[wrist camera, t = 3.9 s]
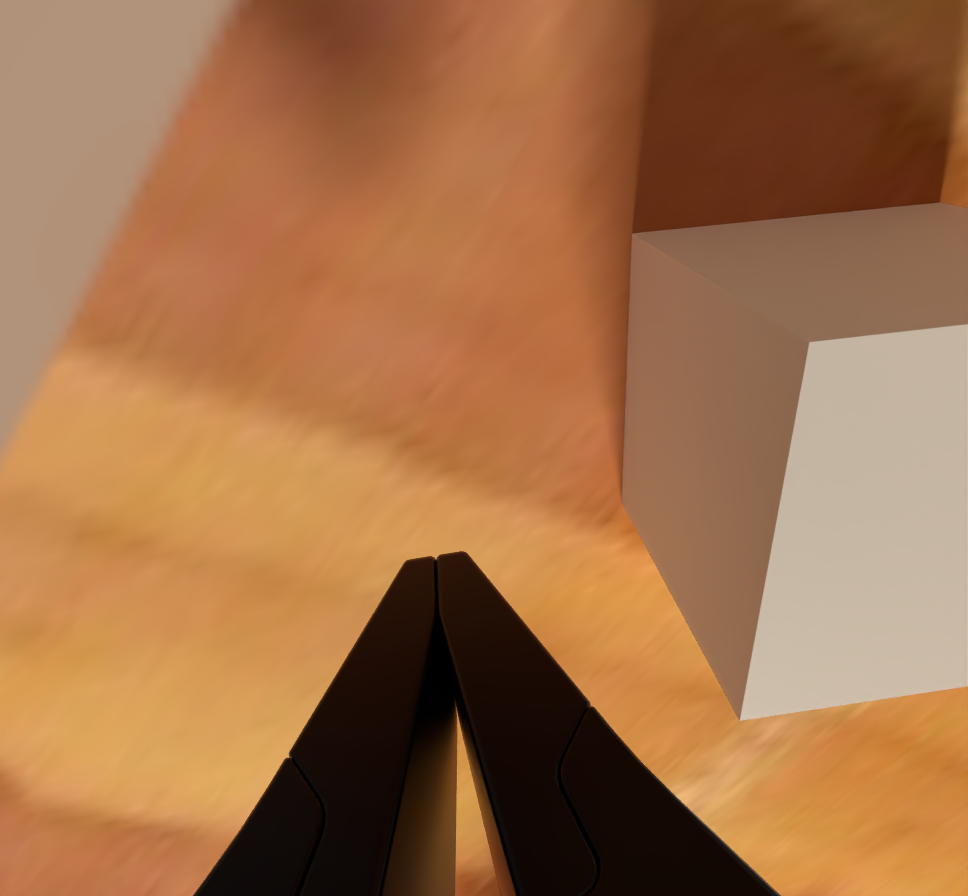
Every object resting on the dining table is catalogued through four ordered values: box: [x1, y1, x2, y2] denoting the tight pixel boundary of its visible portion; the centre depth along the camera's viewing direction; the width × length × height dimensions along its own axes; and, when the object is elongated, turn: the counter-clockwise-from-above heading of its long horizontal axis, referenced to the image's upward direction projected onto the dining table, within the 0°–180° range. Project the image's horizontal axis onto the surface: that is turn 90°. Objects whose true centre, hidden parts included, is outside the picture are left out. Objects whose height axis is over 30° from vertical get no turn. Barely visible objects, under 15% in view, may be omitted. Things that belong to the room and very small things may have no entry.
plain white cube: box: [622, 202, 968, 721], centre depth 11 cm, size 6×6×6 cm
